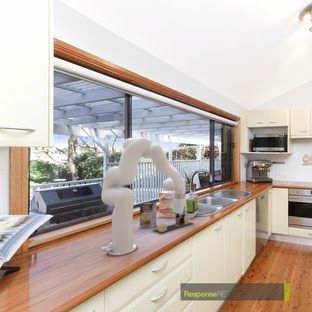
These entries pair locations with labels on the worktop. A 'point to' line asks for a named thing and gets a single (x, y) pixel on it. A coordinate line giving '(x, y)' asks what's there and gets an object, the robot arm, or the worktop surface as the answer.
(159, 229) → the word mat
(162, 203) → the coffeecake box
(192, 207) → the tea box
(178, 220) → the letter S
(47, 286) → the worktop surface
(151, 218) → the coffee box
